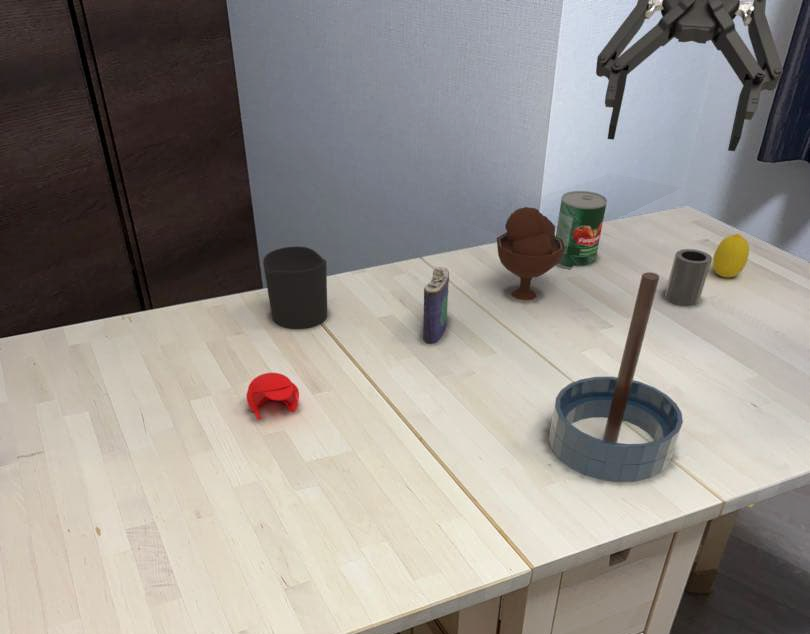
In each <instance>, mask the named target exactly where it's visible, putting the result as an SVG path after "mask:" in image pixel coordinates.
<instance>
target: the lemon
mask: <svg viewBox="0 0 810 634" xmlns="http://www.w3.org/2000/svg"><path fill="white" fill-rule="evenodd" d="M749 256H750V245H749V243H748V240H747V239H746V238H744V237H743V236H742V235H741V234H740V233H735V234H731V235H728V236H726V237H725V238H723V239H722V240H721V241H720V243H719V244H718V246H717V247H716V249H715V252H714V254H713V257H712V267H713V270H714V271H715V273H716V274H717V275H718V276H720V277H722V278H725V279H727V278H733V277H735V276H738V275H739V274H740V273H741V272H742V271H743V270H744V268H745V267H746V264H747V263H748V260H749Z"/></svg>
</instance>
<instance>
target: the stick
mask: <svg viewBox="0 0 810 634" xmlns="http://www.w3.org/2000/svg"><path fill="white" fill-rule="evenodd" d="M659 281H660V275H659V274H657V273H655V272H651V271H650V272H647V271H646V272H643V273H642V274H641V278H640V282H639V286H638V291H637V295H636V298H635V303H634V308H633V310H632V311H633V312H632V316H631V319H630V324H629V328H628V333H627V336H626V340H625V344H624V348H623V354H622V358H621V362H620V365H619V369H618V373H617V376H616V377H617V382H616V386H615V390H614V394H613V398H612V402H611V407H610V411H609V415H608V418H607V420H606V424H605V428H604V432H603V436H602V440H605V441H609V442H615V443H618V439H619V436H620V432H621V427H622V424H623V417H624V413H625V409H626V405H627V401H628V397H629V394H630V390H631V386H632V382H633V380H634V379H635V373H636V370H637V366H638V362H639V358H640V355H641V350H642V347H643V343H644V340H645V336H646V331H647V327H648V325H649V319H650V315H651V312H652V307H653V305H654V300H655V297H656V293H657V288H658V285H659Z"/></svg>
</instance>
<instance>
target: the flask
mask: <svg viewBox="0 0 810 634" xmlns="http://www.w3.org/2000/svg"><path fill="white" fill-rule="evenodd" d="M432 269H433V272H432V278H431V279H430V281H429V282H428V283H427V285H425V286H424V288H423V317H422V320H423V328H422V329H423V330H422V331H423V332H422V335H423V336H422V340H423V342H424V343H426V344H428V345H433V344H436V343H438V342H439V341H440V340H441V339H442V337H443V336H444V334H445V332H446V329H447V325H448V324H447V323H448V318H447V317H448V305H449V304H448V303H449V285H450V271H449V268H447V267H441V266H433V267H432Z"/></svg>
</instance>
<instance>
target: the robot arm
mask: <svg viewBox="0 0 810 634" xmlns="http://www.w3.org/2000/svg"><path fill="white" fill-rule="evenodd" d="M766 5H767V0H637V3H636V5H635V6H634V8H633V9H632V10H631V12H630V13H629V14H628V16H627V17H626V18H625V19H624V21H623V22H622V23H621V25H620V26H619V28H618V29H617V30H616V32H615V33H613V35H612V36H611V38H610V39H609V41H608V42H607V44H606V45H605V46H604V47H603V48H602V50H601V51H600V53H599V54H598V55H597V58H596V69H595V74H596V76H597V77H600V78H602V77H605V78H607V80H608V82H607V87H606V91H605V98H604V104H605V105H604V106H605V108H612V111H611V116H610V121H609V124H608V125H609V126H608V131H607V140H613V141H614V140H615V136H616V132H617V128H618V123H619V118H620V114H621V110H622V109H621V108H622V103H623V98H624V94H625V90H626V85H627V77H628V75H629V74H630V73H631V72H633V71H634V70H635V69H636V68H637V67H638V66H640V65H641V64H642V63H643V62H644V61H645V60H647V59H648V58H649V57H650V56H651V55H652V54H654V53H655V52H656V51H657V50H658V49H660V48H661V47H664V46H666V45H667V44H668V43H669V42H671V41H672V40H673V39H677V42H678V43H688V42H694V43H697V44H703V45H706V44H707V42H709V41H711V42H712V44H713V46H714V47H715V49H716V50H717V51H720V52H721V54H722V55H723V57H724V58H725V60H726V62H727V63H728V64H729V66H730V67H731V69H732V70H733V72H734V73H735V75H736V76H737V78H738V79H739V82H741V85H743V86H742V88H741V90H740V92H739V95H738V101H737V105H736V110H735V115H734V120H733V124H732V128H731V129H732V130H731V134H730V139H729V143H728V147H727V151H728V152H735V151H736V150H737V147H738V145H739V143H740V141H741V138H742V133H743V130H744V124H745V121H746V120H749V121H752V119H753V118H754V116H755V114H756V112H757V110H758V107H759V101H760V98H761V94H762V93H761V92H762V91H765V90H766V91H770V92H771V91H774V90H775V89H776V88H777V85H778V84H779V81H780V79H781V78H782V75H783V73H784V69H783V65H782V62H781V59H780V56H779V53H778V50H777V46H776V44H775V41H774V37H773V34H772V31H771V27H770V25H769V21H768V19H767V16H766V7H767V6H766ZM658 11H659V12H660V13H661V16H662V17H661V18H660V19H659V21H658V22H657V24H656V25H654V26H653V27H652V28H651V29H650V30H649V31H647V32H646V33H645V34H644V35H643V36H642V37H640V38H639V39H638V40H637V41H636V42H635V43H634V44H632V45H631V46H630V47H629V48H627V47H628V45H629V44H630V43H631V41H632V40H633V39H634V38H635V36H636V35H637V34H638V32H639V31H640V30H641V28H642V27H643V25H644V23H645V21H646V20H650V19H651V18H652V16H654V14H655V13H656V12H658ZM736 17H740V18H741V19H742V20H741V21H742V22H743V23H742V24H743V26H744V27H747V33H748V37H749V40H750V43H751V46H752V50H753V53H754V55H753V54H752V52H751V50H750V49H749V48H748V46H747V44H746V43H745V42H744V40H743V38H742V37H741V36H740V34H739V32H738V31H737V30H736V24H735V21H734V20H735V19H736ZM626 48H627V49H626ZM754 56H755V57H754Z"/></svg>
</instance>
